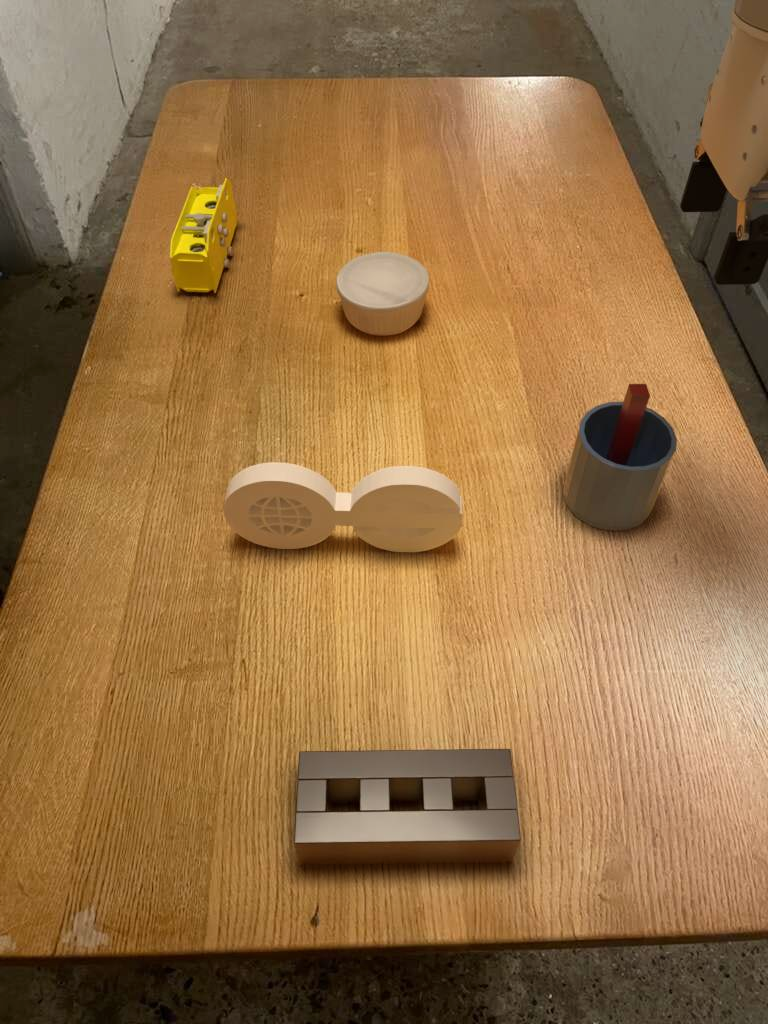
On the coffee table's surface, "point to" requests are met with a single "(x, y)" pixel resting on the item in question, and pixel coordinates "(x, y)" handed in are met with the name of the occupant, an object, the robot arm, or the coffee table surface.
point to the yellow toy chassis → (203, 238)
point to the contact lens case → (343, 507)
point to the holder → (406, 832)
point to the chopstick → (628, 423)
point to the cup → (617, 469)
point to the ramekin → (382, 292)
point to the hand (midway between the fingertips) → (716, 244)
